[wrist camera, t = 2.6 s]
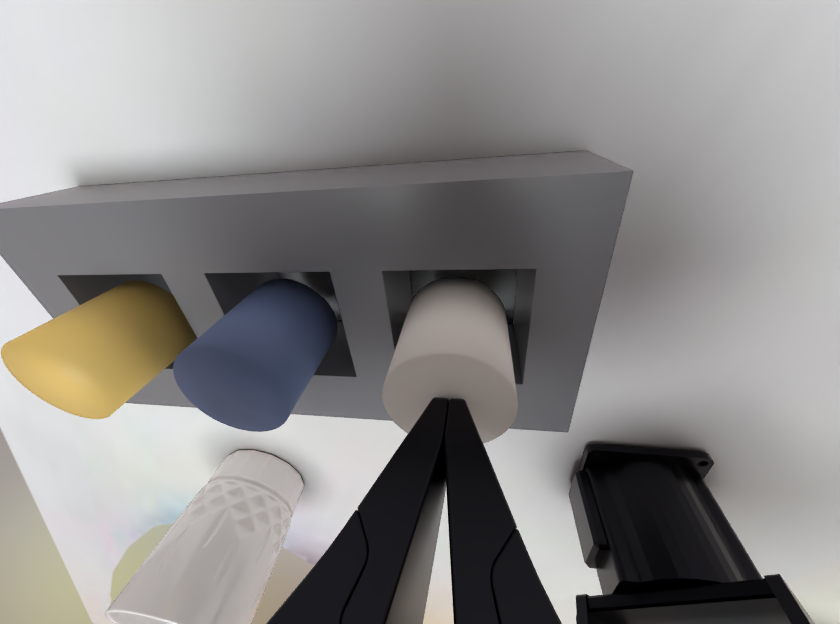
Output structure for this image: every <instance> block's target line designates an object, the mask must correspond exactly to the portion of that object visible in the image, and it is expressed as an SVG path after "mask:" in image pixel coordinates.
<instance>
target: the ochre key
mask: <svg viewBox="0 0 840 624" xmlns="http://www.w3.org/2000/svg"><path fill="white" fill-rule="evenodd" d="M196 339H197V336H196V334H195V333H194V331H193V329H192V327H191V326H190V324H189V322H188V320H187V318H186V317H185V315H184V313H183V311H182V310H181V308H180V306H179V304H178V303H177V301H176V299H175V297H174V296H173V295H172V294H171V293H169V292H168V291H166V290H164V289H163V288H161V287H159V286H157V285H154V284H152V283H149V282H145V281H139V280H132V281H127V282H124V283H122V284H120V285H118V286H116V287H115V288H113V289H111V290H109V291H107V292H105V293H103V294H101V295H99V296H97V297H95V298H93V299H91V300H89V301H87V302H85V303H83V304H81V305H80V306H78V307H76V308H74V309H72V310H70V311H68V312H66V313H64V314H62V315H60V316H58V317H56V318H54V319H52V320H50V321H48V322H46V323H44V324H43V325H41V326H39V327H37V328H35V329H33V330H31V331H29V332H27V333H25V334H23V335H21V336H19V337H17V338H15V339H13V340H11V341H9V342H7V343H6V344H5V345H3V347H2V349H1V356H2V359H3V362H4V364H5V365H6V367H7V368H8V370H9V371H10V372H11V374H12V375H13V376H14V377H15V378H16V379H17V380H18V381H19V382H20V383H21V384H22V385H23V386H24V387H26V388H27V389H28V390H29V391H31V392H32V393H33V394H35V395H36V396H38V397H39V398H41V399H42V400H44V401H46V402H47V403H49V404H51V405H53V406H55V407H57V408H59V409H61V410H63V411H66V412H68V413H71V414H74V415H77V416H80V417H85V418H91V419H103V418H107V417H109V416H110V415H111V414H113V413H114V412H115V411H116V410H117V409H118V408H120V407H121V406H122V405H123V404H124V403H125V402H127V401H128V400H129V399H130V398H131V397H132V396H134V395H135V394H136V393H137V392H138V391H139V390H141V389H142V388H143V387H144V386H145V385H146V384H148V383H149V382H150V381H151V380H152V379H153V378H155V377H156V376H157V375H158V374H159V373H160V372H162V371H163V370H164V369H165V368H166V367H167V366H169V365H170V364H171V363H172V362H173V361H174V360H175V359H176V357H177V356H178V355H179V354H180V353H181V352H182V351H183V350H184V349H185V348H187V347H188V346H189V345H190V344H191V343H193V342H194V341H195V340H196Z"/></svg>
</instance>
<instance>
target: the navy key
mask: <svg viewBox="0 0 840 624" xmlns="http://www.w3.org/2000/svg"><path fill="white" fill-rule="evenodd" d="M336 335H337V320H336V317H335V314H334V312H333V310H332V308H331V307H330V305H329V304H328V303H327V301H326V300H325V299H324V298H323V297H322V296H321V295H320V294H319V293H317V292H316V291H315V290H313V289H312V288H310V287H308V286H306V285H305V284H302V283H300V282H297V281H293V280H288V279H273V280H269V281H267V282H264V283H263V284H261V285H260V286H259V287H257V288H256V289H255V290H254V291H253V292H251V293H250V294H249V295H248V296H247V297H246V298H244V299H243V300H242V301H241V302H240V303H239V304H237V305H236V306H235V307H234V308H233V309H231V310H230V311H229V312H228V313H227V314H226V315H224V316H223V317H222V318H221V319H220V320H218V321H217V322H216V323H215V324H214V325H213V326H211V327H210V328H209V329H208V330H207V331H205V332H204V333H203V334H202V335H201V336H200V337H198V338H197V339H196V340H195V341H194V342H193V343H191V344H190V345H189V346H188V347H187V348H185V349H184V350H183V351H182V352H181V353H180V354H179V355H178V356H177V357H176V359H175V361H174V364H173V374H174V378H175V380H176V383H177V385H178V386H179V388H180V390H181V391H182V393H183V394H184V395H185V396H186V397H187V399H188V400H189V401H190V402H191V403H192V404H194V405H195V406H196V407H197V408H198V409H200V410H201V411H202V412H204V413H205V414H207V415H208V416H210V417H212V418H213V419H215V420H217V421H219V422H221V423H224V424H226V425H229V426H231V427H234V428H238V429H242V430H247V431H258V432H261V431H269V430H273V429H276V428H278V427H280V426H281V425H282V424H284V423H285V421H286V420H287V418H288V417H289V415H290V413H291V412H292V410H293V408H294V407H295V405H296V403H297V402H298V400H299V398H300V397H301V395H302V393H303V392H304V390H305V388H306V387H307V385H308V383H309V382H310V380H311V378H312V377H313V375H314V373H315V372H316V370H317V368H318V367H319V365H320V363H321V362H322V360H323V358H324V357H325V355H326V353H327V351H328V350H329V348H330V346H331V345H332V343H333V341H334V340H335V338H336Z"/></svg>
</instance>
